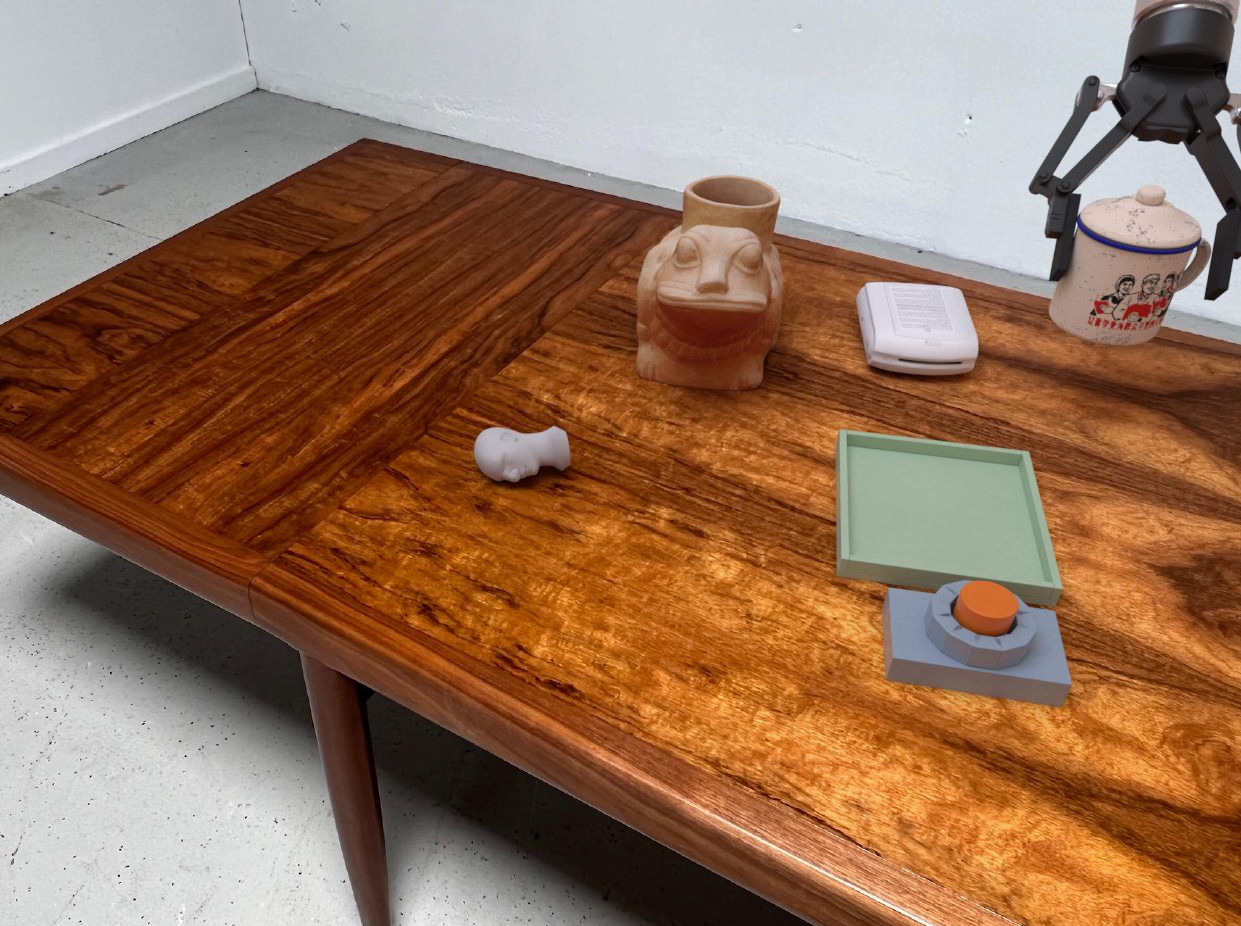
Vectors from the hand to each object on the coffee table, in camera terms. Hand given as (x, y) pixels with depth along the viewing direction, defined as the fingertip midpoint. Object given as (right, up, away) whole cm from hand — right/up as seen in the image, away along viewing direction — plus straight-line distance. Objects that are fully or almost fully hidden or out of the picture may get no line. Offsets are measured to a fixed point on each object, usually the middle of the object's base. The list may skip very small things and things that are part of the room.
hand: (1135, 285), depth 87 cm
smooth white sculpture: (-50, -15, +2) cm, 52 cm away
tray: (-17, -19, -3) cm, 26 cm away
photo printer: (-11, +4, +20) cm, 23 cm away
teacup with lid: (+1, -2, +5) cm, 5 cm away
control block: (-20, -29, -14) cm, 38 cm away
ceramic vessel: (-32, -1, +18) cm, 37 cm away
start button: (-20, -26, -17) cm, 37 cm away
